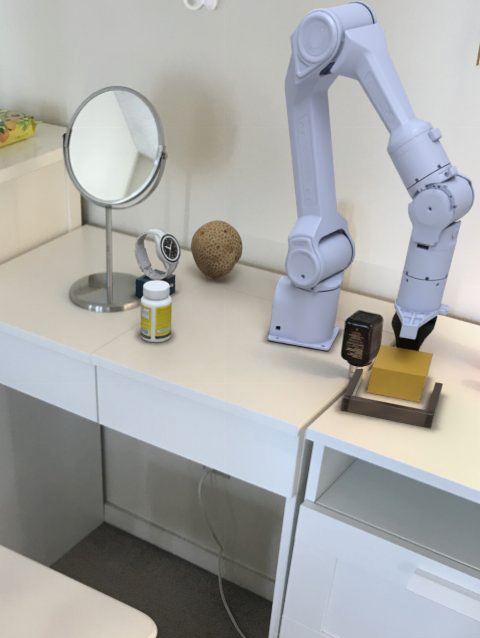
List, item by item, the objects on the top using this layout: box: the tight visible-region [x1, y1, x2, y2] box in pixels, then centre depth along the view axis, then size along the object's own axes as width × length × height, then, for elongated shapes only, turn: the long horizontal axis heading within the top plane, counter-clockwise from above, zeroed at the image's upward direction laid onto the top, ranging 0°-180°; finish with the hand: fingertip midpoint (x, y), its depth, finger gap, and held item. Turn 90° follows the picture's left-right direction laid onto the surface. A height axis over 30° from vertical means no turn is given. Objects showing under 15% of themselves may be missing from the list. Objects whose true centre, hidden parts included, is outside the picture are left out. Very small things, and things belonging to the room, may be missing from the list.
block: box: [366, 344, 434, 403], centre depth 113 cm, size 7×7×4 cm
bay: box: [340, 368, 444, 429], centre depth 110 cm, size 12×9×2 cm
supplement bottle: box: [140, 280, 173, 343], centre depth 125 cm, size 5×5×8 cm
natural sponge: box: [190, 219, 243, 280], centre depth 143 cm, size 9×9×10 cm
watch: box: [134, 227, 182, 299], centre depth 137 cm, size 6×8×11 cm
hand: (404, 363), depth 117 cm, fingers closed
